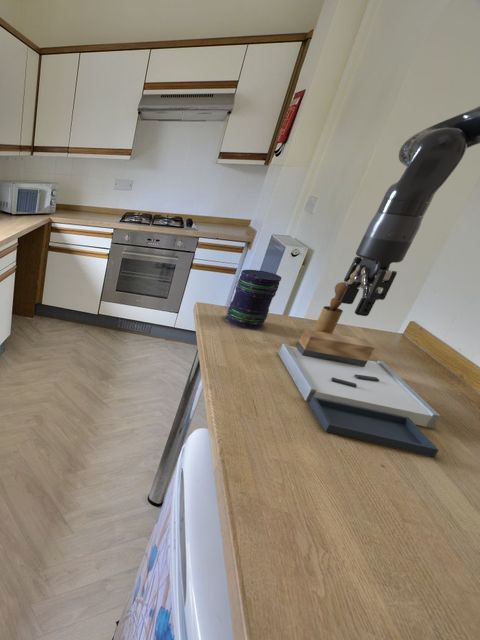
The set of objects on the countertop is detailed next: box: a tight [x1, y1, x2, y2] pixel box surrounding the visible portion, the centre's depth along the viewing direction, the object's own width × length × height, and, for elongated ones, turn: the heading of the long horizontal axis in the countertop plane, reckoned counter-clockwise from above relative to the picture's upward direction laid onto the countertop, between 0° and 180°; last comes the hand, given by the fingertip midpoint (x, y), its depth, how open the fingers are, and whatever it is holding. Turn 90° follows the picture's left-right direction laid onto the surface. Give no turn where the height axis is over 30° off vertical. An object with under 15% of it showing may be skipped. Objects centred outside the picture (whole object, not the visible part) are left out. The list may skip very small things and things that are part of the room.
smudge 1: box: [331, 377, 357, 388], centre depth 86 cm, size 4×1×1 cm, turn 54°
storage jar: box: [224, 269, 282, 330], centre depth 119 cm, size 10×10×15 cm
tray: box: [308, 397, 439, 458], centre depth 76 cm, size 15×10×2 cm
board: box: [278, 343, 441, 429], centre depth 90 cm, size 20×24×3 cm
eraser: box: [296, 328, 375, 367], centre depth 97 cm, size 12×5×5 cm, turn 66°
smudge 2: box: [354, 374, 379, 382], centre depth 88 cm, size 4×1×1 cm, turn 76°
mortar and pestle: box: [312, 281, 347, 334], centre depth 104 cm, size 7×6×18 cm
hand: (352, 308), depth 92 cm, fingers open, 8 cm apart
